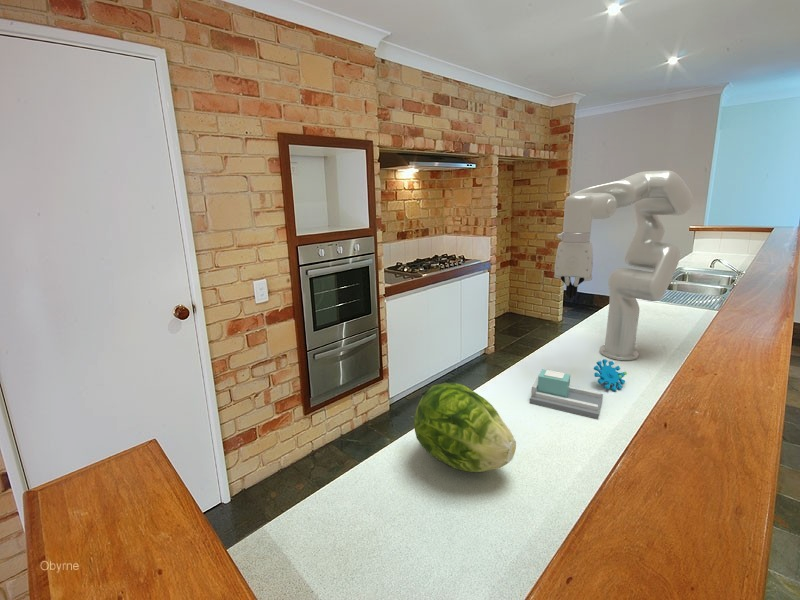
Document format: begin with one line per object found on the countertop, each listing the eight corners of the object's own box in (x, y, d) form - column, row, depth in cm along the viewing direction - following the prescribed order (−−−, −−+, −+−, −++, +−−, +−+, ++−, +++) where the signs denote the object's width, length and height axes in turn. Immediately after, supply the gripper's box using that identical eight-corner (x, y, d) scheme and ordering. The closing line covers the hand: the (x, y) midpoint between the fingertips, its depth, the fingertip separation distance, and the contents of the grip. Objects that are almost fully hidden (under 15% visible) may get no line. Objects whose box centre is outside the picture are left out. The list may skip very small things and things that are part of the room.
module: (540, 387, 122) (542, 368, 120) (568, 393, 118) (570, 373, 116) (537, 394, 118) (538, 374, 116) (566, 400, 114) (567, 380, 112)
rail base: (539, 385, 126) (539, 372, 125) (602, 398, 117) (604, 384, 116) (529, 403, 116) (530, 389, 115) (598, 419, 107) (599, 404, 106)
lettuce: (492, 509, 79) (495, 427, 74) (400, 463, 93) (396, 392, 88) (527, 460, 92) (531, 388, 87) (442, 426, 106) (441, 362, 101)
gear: (601, 389, 119) (592, 358, 124) (590, 395, 124) (581, 364, 129) (634, 389, 121) (623, 358, 126) (621, 395, 126) (611, 365, 131)
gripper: (546, 238, 118) (543, 298, 123) (602, 240, 111) (596, 303, 116) (552, 235, 125) (548, 292, 130) (605, 237, 117) (599, 297, 122)
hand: (571, 297), depth 123 cm, fingers closed
